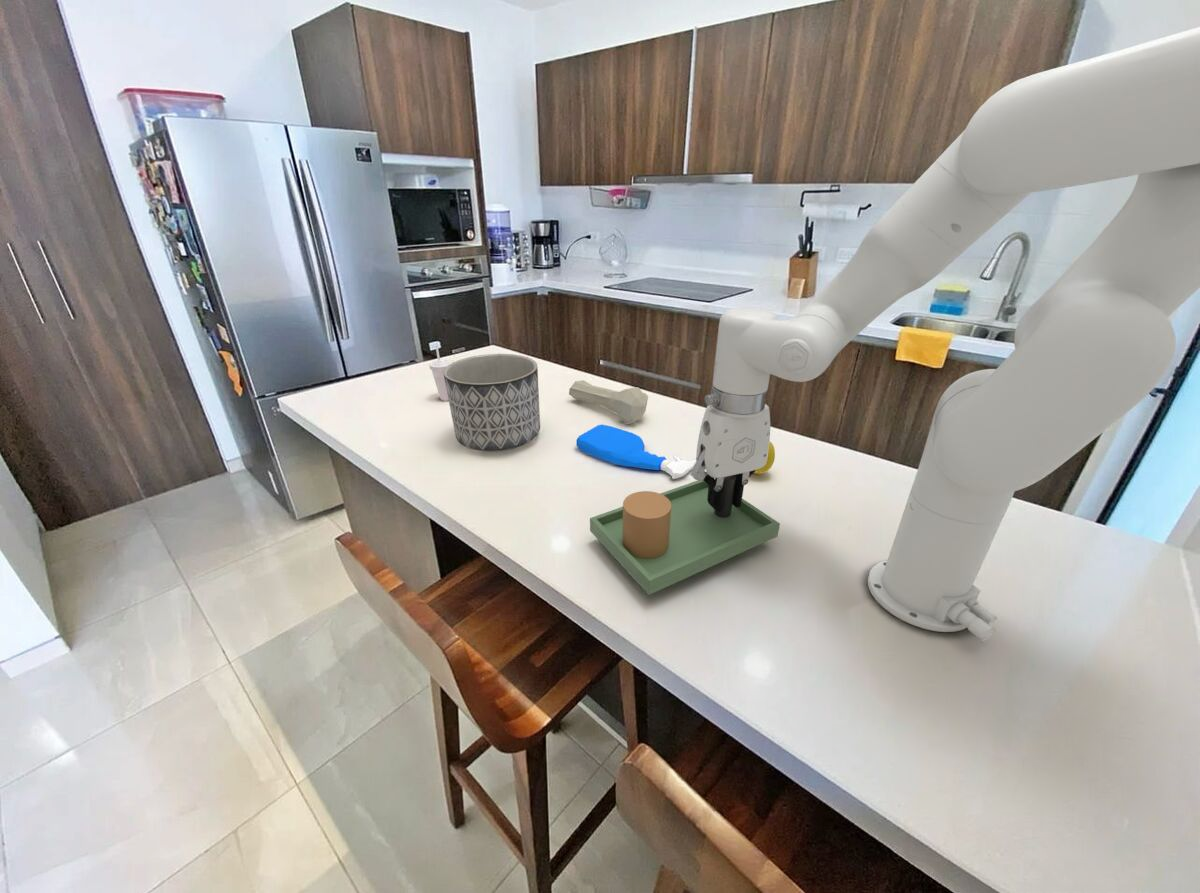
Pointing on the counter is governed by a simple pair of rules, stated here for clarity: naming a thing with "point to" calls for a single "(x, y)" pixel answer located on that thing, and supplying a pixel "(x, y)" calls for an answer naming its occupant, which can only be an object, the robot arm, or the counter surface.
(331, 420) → the counter surface
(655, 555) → the stubby tan cylinder
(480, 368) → the planter
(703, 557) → the tray
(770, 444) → the lemon
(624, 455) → the spray bottle
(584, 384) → the faceted club
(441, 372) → the smoothie
